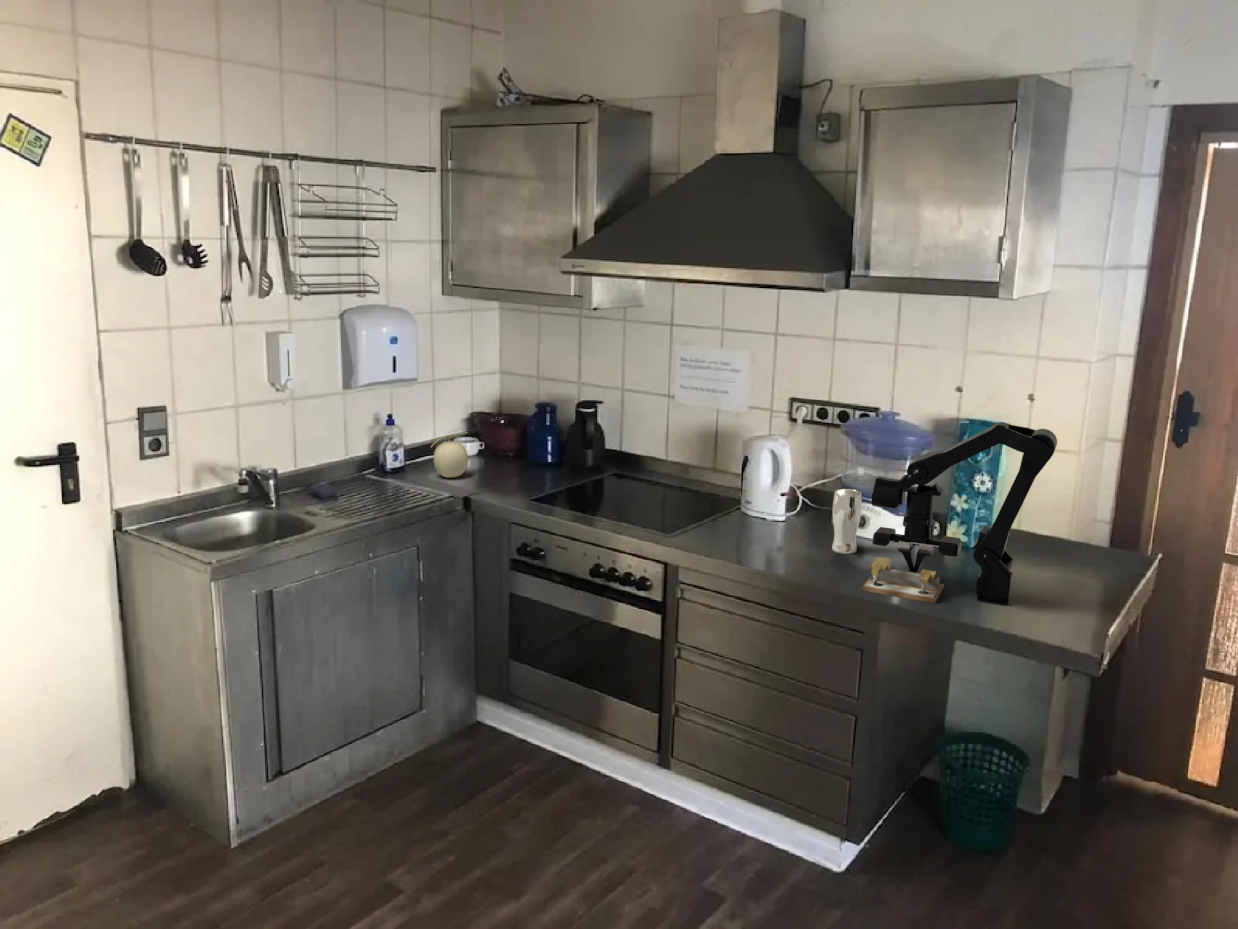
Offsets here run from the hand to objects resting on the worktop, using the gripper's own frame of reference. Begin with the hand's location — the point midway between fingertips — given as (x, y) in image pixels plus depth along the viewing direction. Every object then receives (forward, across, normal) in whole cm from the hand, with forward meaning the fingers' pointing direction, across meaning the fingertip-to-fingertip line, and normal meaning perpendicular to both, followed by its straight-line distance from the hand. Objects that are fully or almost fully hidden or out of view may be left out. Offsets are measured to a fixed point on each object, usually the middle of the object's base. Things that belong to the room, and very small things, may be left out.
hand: (914, 577), depth 234 cm
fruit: (+1, +148, -24) cm, 149 cm away
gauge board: (+2, +2, +4) cm, 5 cm away
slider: (+1, +7, +3) cm, 8 cm away
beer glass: (+2, +20, -16) cm, 26 cm away
